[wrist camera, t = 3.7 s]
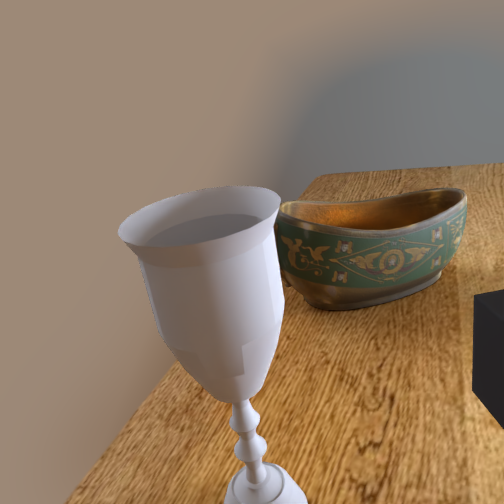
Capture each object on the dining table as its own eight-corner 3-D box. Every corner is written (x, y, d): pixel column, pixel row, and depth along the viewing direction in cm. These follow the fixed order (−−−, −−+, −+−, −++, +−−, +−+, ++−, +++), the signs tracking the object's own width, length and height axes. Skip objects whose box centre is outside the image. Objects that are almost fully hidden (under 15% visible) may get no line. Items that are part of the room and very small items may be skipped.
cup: (284, 260, 57) (272, 180, 53) (463, 258, 50) (464, 166, 46) (252, 317, 46) (234, 221, 42) (476, 324, 39) (479, 210, 35)
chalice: (336, 569, 23) (290, 228, 16) (200, 587, 23) (95, 260, 16) (314, 452, 30) (274, 177, 23) (208, 467, 30) (137, 199, 23)
